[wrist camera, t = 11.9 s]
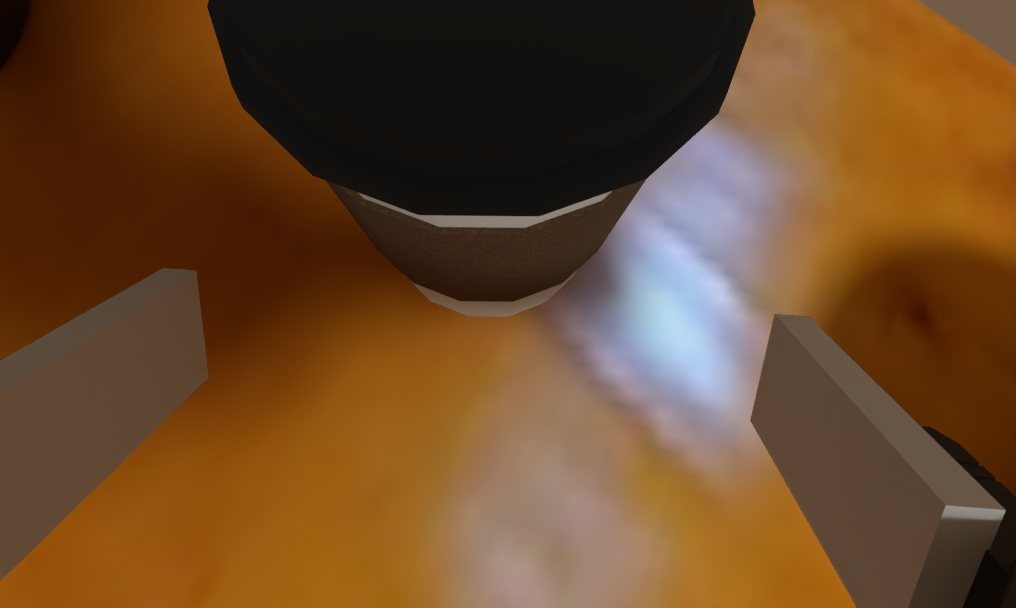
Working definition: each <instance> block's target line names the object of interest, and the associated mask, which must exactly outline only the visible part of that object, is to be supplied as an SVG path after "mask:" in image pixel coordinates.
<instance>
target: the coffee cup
mask: <svg viewBox="0 0 1016 608" xmlns="http://www.w3.org/2000/svg"><path fill="white" fill-rule="evenodd" d="M207 7H208V10H209V14H210V17H211V20H212V23H213V26H214V30H215V33H216V36H217V39H218V43H219V46H220V49H221V52H222V55H223V59H224V62H225V65H226V68H227V72H228V75H229V78H230V81H231V85H232V87H233V89H234V91H235V93H236V95H237V97H238V99H239V101H240V103H241V105H242V107H243V109H244V110H245V111H246V112H248V113H249V114H250V115H251V116H252V117H253V118H254V119H255V120H256V121H257V122H258V123H259V124H260V125H261V126H262V127H263V128H264V129H265V130H266V131H267V132H268V133H269V134H270V135H271V136H272V137H273V138H274V139H276V140H277V141H278V142H279V143H280V144H281V145H282V146H283V147H284V148H285V149H286V150H287V151H288V152H289V153H290V154H291V155H292V156H293V157H294V158H295V159H296V160H297V161H298V162H299V163H300V164H301V165H302V166H304V167H305V168H306V169H307V170H308V171H309V172H310V173H311V174H312V175H313V176H316V177H318V178H321V179H324V180H326V181H327V183H328V184H329V185H330V187H331V188H332V189H333V191H334V192H335V193H336V195H337V196H338V197H339V199H340V200H341V201H342V203H343V204H344V205H345V207H346V208H347V209H348V211H349V212H350V213H351V215H352V216H353V217H354V219H355V220H356V221H357V223H358V224H359V225H360V227H361V228H362V229H363V231H364V232H365V233H366V235H367V236H368V237H369V239H370V240H371V241H372V243H373V244H374V245H375V247H376V248H377V249H378V250H379V251H380V252H381V253H382V254H383V255H384V256H385V257H386V258H387V259H388V260H389V261H390V262H391V263H392V264H393V265H394V266H395V267H396V268H397V269H398V270H400V271H401V272H402V273H403V275H404V276H405V277H406V278H407V279H408V280H409V281H410V282H411V283H412V284H413V285H414V286H415V287H416V288H417V289H418V290H419V291H420V292H421V293H423V294H424V295H425V296H426V297H427V298H428V299H429V300H430V301H431V302H433V303H436V304H438V305H441V306H443V307H446V308H448V309H451V310H453V311H456V312H459V313H461V314H464V315H466V316H511V315H514V314H516V313H519V312H522V311H524V310H527V309H530V308H532V307H535V306H538V305H540V304H543V303H546V302H547V301H548V300H549V299H550V298H551V297H552V296H553V295H554V294H555V293H556V292H558V291H559V290H560V289H561V288H562V287H563V286H564V285H565V284H566V283H567V282H568V281H569V280H570V279H572V278H573V276H574V275H575V273H576V272H577V270H578V269H579V268H580V267H581V266H582V265H583V264H584V263H585V262H586V261H587V260H588V259H589V258H590V257H591V256H592V255H594V254H595V253H596V252H597V251H598V249H599V248H600V246H601V245H602V243H603V242H604V240H605V239H606V237H607V236H608V235H609V233H610V232H611V230H612V229H613V227H614V226H615V224H616V223H617V221H618V220H619V218H620V217H621V215H622V214H623V212H624V211H625V210H626V208H627V207H628V205H629V204H630V202H631V201H632V199H633V198H634V196H635V195H636V193H637V192H638V190H639V189H640V187H641V186H642V185H643V183H644V182H645V180H646V179H647V178H648V177H649V176H650V175H651V174H652V173H653V172H654V171H655V170H657V169H658V168H659V167H660V166H661V165H662V164H663V163H664V162H665V161H667V160H668V159H669V158H670V157H671V156H672V155H673V154H674V153H675V152H676V151H678V150H679V149H680V148H681V147H682V146H683V145H684V144H685V143H686V142H688V141H689V140H690V139H691V138H692V137H693V136H694V135H695V134H696V133H697V132H699V131H700V130H701V129H702V128H703V127H704V126H705V125H706V124H707V123H708V122H710V121H711V120H712V119H713V118H714V117H715V116H716V115H717V114H718V113H719V110H720V108H721V106H722V103H723V101H724V99H725V97H726V94H727V92H728V89H729V86H730V84H731V81H732V78H733V75H734V72H735V70H736V67H737V64H738V61H739V59H740V56H741V53H742V50H743V47H744V45H745V42H746V39H747V36H748V34H749V31H750V28H751V25H752V22H753V20H754V17H755V9H754V4H753V0H209V2H208V6H207Z"/></svg>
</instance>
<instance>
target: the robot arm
mask: <svg viewBox="0 0 1016 608" xmlns="http://www.w3.org/2000/svg"><path fill="white" fill-rule="evenodd" d="M28 4H29V0H0V65H1V64H2V62H3V61H4V59H5V58H6V57H7V55H8V54H9V52H10V50H11V49H12V47H13V45H14V44H15V42H16V40H17V38H18V36H19V34H20V31H21V29H22V26H23V24H24V20H25V17H26V14H27V9H28ZM208 378H209V376H208V367H207V358H206V350H205V341H204V332H203V324H202V315H201V306H200V297H199V289H198V280H197V271H196V270H185V269H172V268H162V269H160V270H159V271H157V272H155V273H153V274H152V275H150V276H148V277H146V278H145V279H143V280H141V281H139V282H138V283H136V284H134V285H132V286H130V287H129V288H127V289H125V290H123V291H122V292H120V293H118V294H116V295H115V296H113V297H111V298H109V299H108V300H106V301H104V302H102V303H101V304H99V305H97V306H95V307H94V308H92V309H90V310H88V311H86V312H85V313H83V314H81V315H79V316H78V317H76V318H74V319H72V320H71V321H69V322H67V323H65V324H64V325H62V326H60V327H58V328H57V329H55V330H53V331H51V332H49V333H48V334H46V335H44V336H42V337H41V338H39V339H37V340H35V341H34V342H32V343H30V344H28V345H27V346H25V347H23V348H21V349H20V350H18V351H16V352H14V353H12V354H11V355H9V356H7V357H5V358H4V359H2V360H0V581H1V580H2V579H3V578H4V577H5V576H6V575H7V574H8V573H9V572H10V571H11V570H12V569H13V568H14V567H15V566H17V565H18V564H19V563H20V562H21V561H22V560H23V559H24V558H25V557H26V556H27V555H28V554H29V553H30V552H31V551H32V550H33V549H34V548H35V547H36V546H37V545H38V544H39V543H40V542H41V541H42V540H43V539H44V538H45V537H46V536H47V535H48V534H49V533H50V532H51V531H52V530H53V529H54V528H55V527H56V526H57V525H59V524H60V523H61V522H62V521H63V520H64V519H65V518H66V517H67V516H68V515H69V514H70V513H71V512H72V511H73V510H74V509H75V508H76V507H77V506H78V505H79V504H80V503H81V502H82V501H83V500H84V499H85V498H86V497H87V496H88V495H89V494H90V493H91V492H92V491H93V490H94V489H95V488H96V487H97V486H98V485H99V484H101V483H102V482H103V481H104V480H105V479H106V478H107V477H108V476H109V475H110V474H111V473H112V472H113V471H114V470H115V469H116V468H117V467H118V466H119V465H120V464H121V463H122V462H123V461H124V460H125V459H126V458H127V457H128V456H129V455H130V454H131V453H132V452H133V451H134V450H135V449H136V448H137V447H138V446H139V445H140V444H141V443H143V442H144V441H145V440H146V439H147V438H148V437H149V436H150V435H151V434H152V433H153V432H154V431H155V430H156V429H157V428H158V427H159V426H160V425H161V424H162V423H163V422H164V421H165V420H166V419H167V418H168V417H169V416H170V415H171V414H172V413H173V412H174V411H175V410H176V409H177V408H178V407H179V406H180V405H181V404H182V403H183V402H184V401H186V400H187V399H188V398H189V397H190V396H191V395H192V394H193V393H194V392H195V391H196V390H197V389H198V388H199V387H200V386H201V385H202V384H203V383H204V382H205V381H206V380H207V379H208ZM750 421H751V423H752V424H753V426H754V428H755V430H756V431H757V433H758V435H759V437H760V438H761V440H762V442H763V444H764V445H765V447H766V449H767V451H768V452H769V454H770V456H771V458H772V459H773V461H774V463H775V465H776V466H777V468H778V470H779V472H780V473H781V475H782V477H783V479H784V481H785V482H786V484H787V486H788V488H789V489H790V491H791V493H792V495H793V496H794V498H795V500H796V502H797V503H798V505H799V507H800V509H801V510H802V512H803V514H804V516H805V517H806V519H807V521H808V523H809V524H810V526H811V528H812V530H813V531H814V533H815V535H816V537H817V538H818V540H819V542H820V544H821V545H822V547H823V549H824V551H825V552H826V554H827V556H828V558H829V560H830V561H831V563H832V565H833V567H834V568H835V570H836V572H837V574H838V575H839V577H840V579H841V581H842V582H843V584H844V586H845V588H846V589H847V591H848V593H849V595H850V596H851V598H852V600H853V602H854V603H855V605H856V607H857V608H1016V497H1015V496H1014V495H1013V494H1012V493H1011V492H1010V491H1009V490H1008V489H1007V488H1005V487H1004V486H1003V485H1002V484H1001V483H1000V482H996V481H995V477H994V476H993V475H992V474H991V473H989V472H988V471H987V470H986V469H985V468H984V467H983V466H979V462H978V461H977V460H976V459H974V458H973V457H972V456H971V455H970V454H969V453H968V452H967V451H966V450H965V449H964V448H963V447H962V446H961V445H959V444H958V443H956V442H955V441H953V440H951V439H950V438H948V437H946V436H945V435H943V434H941V433H939V432H938V431H936V430H934V429H933V428H931V427H923V426H920V425H919V424H918V423H917V422H916V421H915V420H914V419H913V418H912V417H911V416H910V415H909V414H908V413H907V412H906V411H905V410H904V409H903V408H902V407H900V406H899V405H898V404H897V403H896V402H895V401H894V400H893V399H892V398H891V397H890V396H889V395H888V394H887V393H886V392H885V391H884V390H883V389H882V388H881V387H880V386H879V385H878V384H877V383H876V382H875V381H874V380H873V379H872V378H871V377H870V376H869V375H868V374H867V373H866V372H865V371H864V370H863V369H862V368H861V367H860V366H859V365H858V364H857V363H856V362H855V361H854V360H853V359H852V358H851V357H850V356H849V355H848V354H847V353H846V352H845V351H844V350H842V349H841V348H840V347H839V346H838V345H837V344H836V343H835V342H834V341H833V340H832V339H831V338H830V337H829V336H828V335H827V334H826V333H825V332H824V331H823V330H822V329H821V328H820V327H819V326H818V325H817V324H816V323H815V322H814V321H813V320H812V319H811V318H810V317H808V316H794V315H781V314H774V319H773V323H772V328H771V332H770V337H769V341H768V345H767V350H766V354H765V359H764V363H763V367H762V372H761V376H760V381H759V385H758V389H757V394H756V398H755V403H754V407H753V411H752V416H751V420H750Z"/></svg>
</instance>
